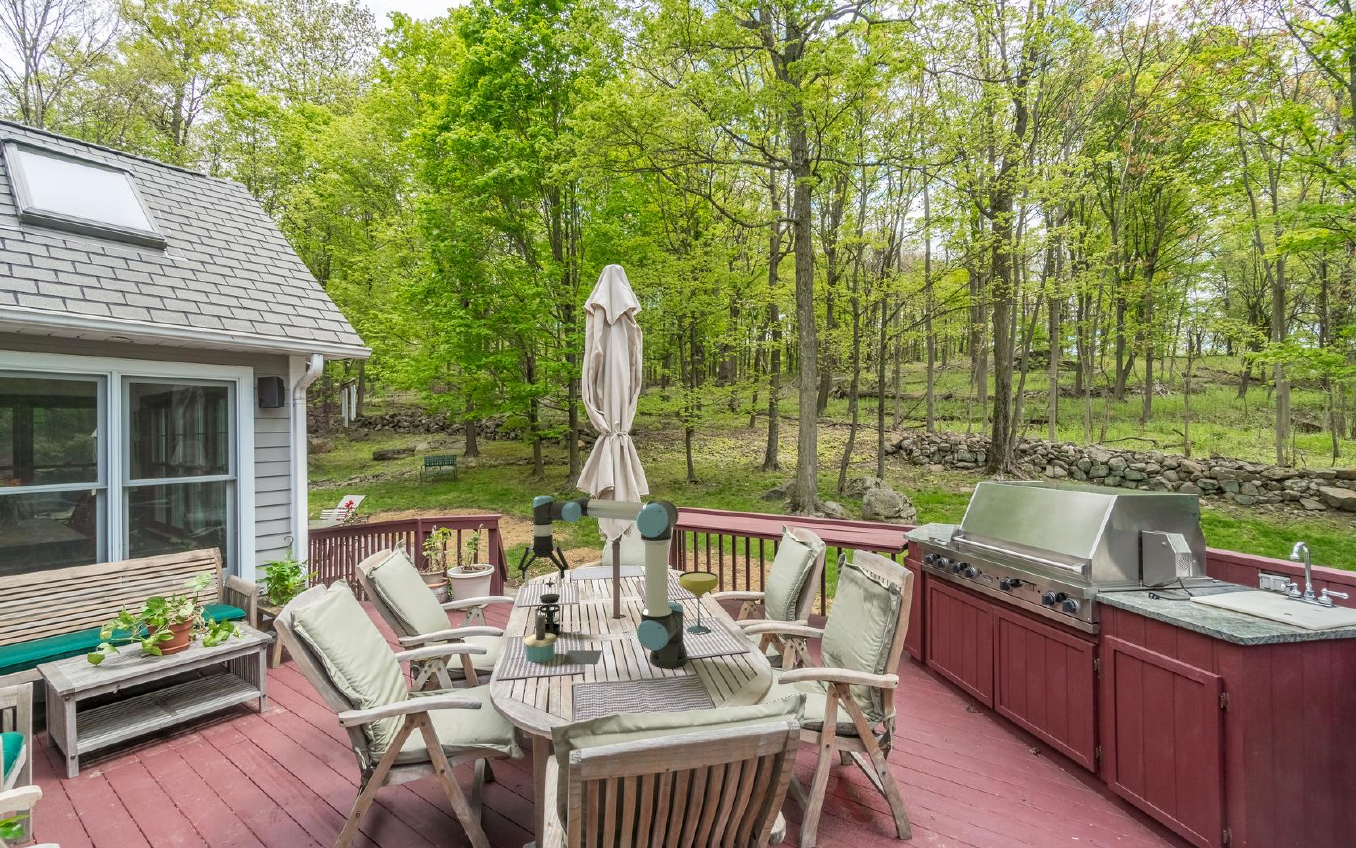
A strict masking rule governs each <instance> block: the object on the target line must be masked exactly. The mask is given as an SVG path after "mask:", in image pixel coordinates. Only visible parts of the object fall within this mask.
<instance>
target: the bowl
mask: <svg viewBox="0 0 1356 848" xmlns="http://www.w3.org/2000/svg"><path fill="white" fill-rule="evenodd" d="M555 646H556V642H555V643H554V644H552V645H549V646H544V647H530V646H527V645H525V658H526V661H527V662H530V663H537V664H539V663H545V662H548V661H551V660H553V659H554V658H555V653H556V652H555V649H556V647H555Z"/></svg>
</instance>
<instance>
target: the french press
mask: <svg viewBox="0 0 1356 848" xmlns="http://www.w3.org/2000/svg"><path fill="white" fill-rule="evenodd" d="M544 585H546V586H548V588H549V589H551V588H552V586H554V585H555V582H552V581H550V582H545V584H544ZM560 598H561V595H560V594H558V593H546V594H542V595H540V596H539V599H540V603H541V604H544V605H541V606H540V607H539V608H535V609H534V610H535V613H534V615H535V616H534V618H535V627H534V628H535V629H536V616H537V615H538V614H537V613H538V612H537V611H539V615H542V614H546V616H545V633H551V634H554V635H556V636H560V635H561V606H560V605H559V604H556V603H558V602H559V599H560ZM551 608H555V609H551ZM557 612H558V617H557V616H554V613H557Z"/></svg>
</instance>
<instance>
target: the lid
mask: <svg viewBox="0 0 1356 848" xmlns="http://www.w3.org/2000/svg"><path fill="white" fill-rule="evenodd" d="M545 617H546V615H545V614H541V615H540V614H537V616H536V628H535V633H534V634H530V635H527V636H525V637H524V638H523V644H524V645H525V646H526V645H527V646H530V647H544V646H549V645H552V644H554V643H555V644H556V642H557V641H558V637H557V636H556V635H554V634H551V633H545Z"/></svg>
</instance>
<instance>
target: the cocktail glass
mask: <svg viewBox="0 0 1356 848" xmlns="http://www.w3.org/2000/svg"><path fill="white" fill-rule="evenodd" d="M678 583H679V586H680V587H682V588H683V589H684V590H686V591H688V592H689V593H692V594H693V595H694V596H695V597H696V599H697V624H696V625H693V626H689V627H688V628H687V629H686V631H687V632H688V633H689V632H691V633H690V634H692V632H693V633H700V632H709V629H708V628H709V627H708V626H705V625H701V621H700V619H701V617H700V599H701V598H702V597H703V595H705V594H706V593H709V592H710V591H713V590H714V589H715V588H716V587H718V585H719V576H718V574H716V573H713V572H709V571H704V570H703V571H700V570H697V571H695V570H694V571H686V572H682V573H681V574H680V575H679V578H678ZM709 633H710V632H709Z"/></svg>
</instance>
